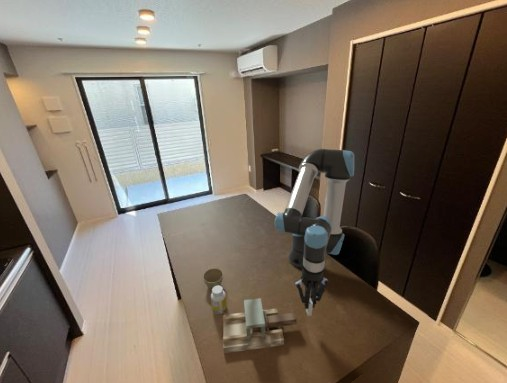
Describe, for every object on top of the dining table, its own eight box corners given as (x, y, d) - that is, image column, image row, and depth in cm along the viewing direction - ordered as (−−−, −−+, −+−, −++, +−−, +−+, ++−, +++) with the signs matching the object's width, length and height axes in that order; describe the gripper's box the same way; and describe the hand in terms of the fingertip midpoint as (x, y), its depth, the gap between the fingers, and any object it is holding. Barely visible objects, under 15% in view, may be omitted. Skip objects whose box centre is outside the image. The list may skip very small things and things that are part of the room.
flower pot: (205, 295, 110) (203, 284, 108) (203, 281, 119) (202, 270, 117) (225, 291, 113) (224, 280, 110) (222, 277, 122) (221, 266, 119)
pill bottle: (227, 302, 107) (225, 283, 102) (226, 314, 101) (224, 294, 96) (213, 303, 106) (211, 284, 102) (211, 315, 100) (208, 295, 96)
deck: (276, 313, 100) (276, 293, 96) (283, 344, 88) (284, 324, 83) (224, 319, 98) (221, 300, 94) (223, 353, 85) (221, 332, 81)
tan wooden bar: (293, 315, 96) (294, 307, 94) (297, 326, 91) (297, 317, 89) (251, 321, 94) (250, 312, 92) (252, 332, 89) (252, 323, 87)
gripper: (326, 258, 87) (320, 303, 96) (293, 261, 86) (290, 307, 95) (334, 271, 80) (327, 319, 89) (299, 275, 79) (295, 323, 88)
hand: (308, 312), depth 92 cm, fingers closed
